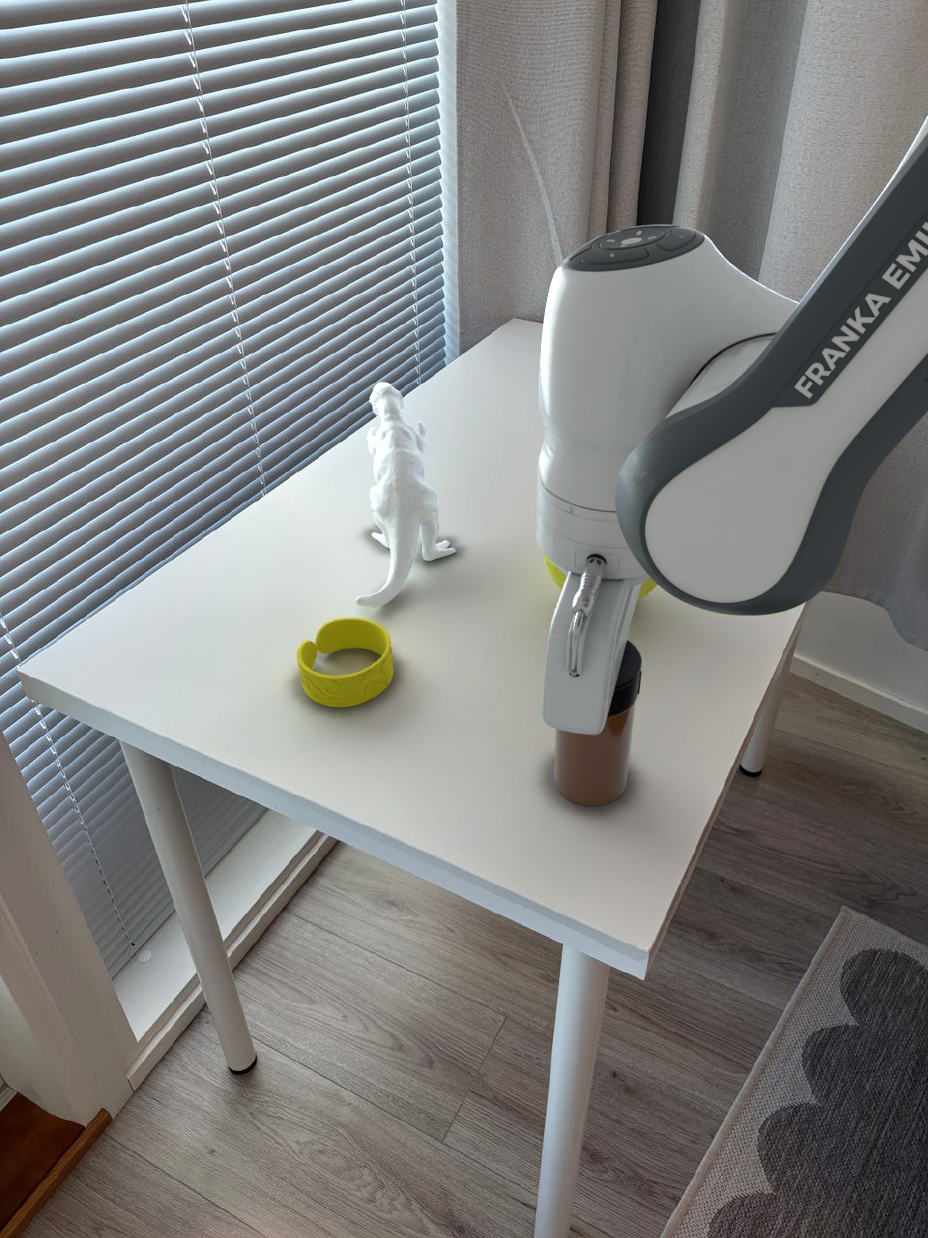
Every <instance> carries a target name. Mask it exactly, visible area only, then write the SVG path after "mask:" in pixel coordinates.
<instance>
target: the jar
mask: <svg viewBox="0 0 928 1238" xmlns="http://www.w3.org/2000/svg"><path fill="white" fill-rule="evenodd" d="M636 701H637V700H636ZM636 701H635V702H634V704H633V705H632V706H631V707H630V708H629V709H627V710H626V711H624V712H622V713H619V714H617V715H613V716H607V719H606V722H605V726H604V728H603V730H602V732H601V733H600V734H598V735H586V734H578V733H572V732H567V731H563V730H559V729H555V741H554V764H553V765H554V766H553V781H554V784H555V787H556V788H557V790H558V791H559V792H560V794H561V795H562V796H563V797H565V798H566V799H568V800H569V801H571V802H573V803H576V804H578V805H582V806H588V807H598V806H604V805H607V804H610V803H612V802H614V801H616V800H618V798H619V797H621V796H622V794H623V793H624V792H625V789H626V786H627V782H628V775H629V774H628V773H629V764H630V756H631V755H630V754H631V746H632V738H633V730H634V728H633V727H634V721H635V720H634V719H635V710H636Z"/></svg>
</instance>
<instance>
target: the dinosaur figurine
mask: <svg viewBox="0 0 928 1238" xmlns="http://www.w3.org/2000/svg"><path fill="white" fill-rule="evenodd" d="M368 402H369V403H370V404H371V405H372V408H371V409H372V413H373V414H375V416H377V417H380V428H379V429H378V430H377V427H374V426H373V427H371V428H370V429H369V430H368V433H367V438H366V439H367V443H368V452H369V453H370V455H371V457H372V459H373V465H372V469H373V476H374V479H375V482H376V485H374V486H372V487H371V489H370V492H369V499H370V502H371V504H370V507H371V510H372V512H373V518H374V522H375V524H376V526H377V527H378V529H379V530H380V531H381V532H382V534H380V533H377V532H372V533H371V536H372V538H373V539H375V540H376V541H378V542H379V543H380V544H381V545H383V546H384V547H385V548H387V549H389V551H390V555H389V557H390V561H389V571H388V575H387V579H386V583H385V584H384V585H383V586H382V588H380V589H379V590H378V591H377V592H374V593H371V594H367V595H359V596H357V597H356V598H355V601H354V602H355V605H357V606H358V607H363V608H367V609H375V608H380V607H383V606H385V605H387V604H389V603H391V601H392V600H394V599H395V598H396V596H397V595H398V594H399V593H400V591H401V589H402V588H403V587H404V585H405V583H406V581H407V578H408V576H409V574H410V572H411V570H412V566H413V563H414V559H415V555H416V551H417V546H418V544H419V536H420V541H421V546H422V548H421V549H422V550H421V555H422V559H423V560H424V561H426V562H433V561H434V560H437V559H441V558H443V557H447V556H450V555H453V554H454V553H456V551H457V550H456V548H454V547H450V548H448V547H449V546H450V542H449V541H448V540H443V541H442V542H441V541H440V542H438V543H437V539H438V538H439V537H438V536H439V534H440V521H439V511H440V510H439V509H440V508H439V504H438V495H437V493H436V491H435V490H434V488H433V487H432V486H431V485H430V484H429V483H427V482H426V481H425V468H424V467H425V466H424V460H423V456H422V454H423V453H425V450H426V440H425V437H426V434H427V428H426V426H425V423H424V421H422V420H419V421H417V423H416V429H415V427H414V426H413V424H411V423H410V422H407V421H406V419H405V417H404V413H403V410H404V407H405V405H404V399H403V395H402V393H401V391H400V390H398V389H396V388H395V387H394V386H393V385H392V384H391V383H389V382H382V381H381V382H378V383H376V384H375V386H374V387H373V390H372V392H371V395H369V401H368Z"/></svg>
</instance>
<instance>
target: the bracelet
mask: <svg viewBox="0 0 928 1238" xmlns="http://www.w3.org/2000/svg"><path fill="white" fill-rule="evenodd" d="M391 645H392V641H391V636H390V634H389V632H388V630H386V629H385V627H383V626H382V625H381V624H379V623H377V622H375V621H373V620H370V619H366V618H362V617H339V618H335V619H332V620H329V621H327V622H325V623H323V625H321V627H319V630H318V631H317V633H316V636H315V641H314V642H313V641H312V640H309V639H306V640H303V641H302V642H301V644H300V645H299V647H298V649H297V651H296V661H297V665H298V670H299V674H300V680H301V685H302V689H303V692H304V694H305V695H306V696H307V697H308V698H309V699H311V700H312V701H313V702H315V703H317V704H320V705H322V706H325V707H330V708H348V707H354V706H358V705H361V704H364V703H366V702H369V701H371V700H372V699H374V698H376V697H377V696H378V695H380V694H381V693H383V692H384V691H385V690H386V689H387V687H388V686H389V685H390V684H391V681H392V680H393V676H394V665H393V664H394V663H393V661H394V660H393V653H392V650H393V649H392V646H391ZM347 649H365V650H369V651H371V652H373V653H376V654H378V655H379V656H380V657H379V658H378V659H377V660H376V661H375V662H373V663H371V665H369V666H368V667H365V668H364V669H361V670H359V671H356V672H353V673H349V674H343V675H342V674H341V675H328V674H323V673H321V672H317V671H314V670H313V669H312V668H313V667H314V664H315V663H316V660H317V657H318V653H320V654H325V655H327V654H332V653H334V652H338V651H340V650H347Z"/></svg>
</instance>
